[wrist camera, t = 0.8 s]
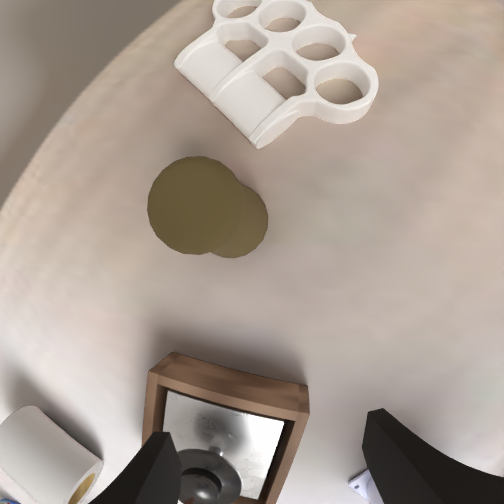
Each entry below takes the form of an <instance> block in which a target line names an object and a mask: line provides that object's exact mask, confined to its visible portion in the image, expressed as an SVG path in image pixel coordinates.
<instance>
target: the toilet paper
mask: <svg viewBox="0 0 504 504" xmlns="http://www.w3.org/2000/svg"><path fill="white" fill-rule="evenodd" d="M103 465H104V462H103V461H102V460H100V459H99V458H98V457H96V456H95V455H94V454H92V453H91V452H90V451H88V450H87V449H86V448H84V447H83V446H82V445H81V444H79V443H78V442H77V441H76V440H74V439H73V438H72V437H71V436H69V435H68V434H67V433H66V432H65V431H63V430H62V429H61V428H60V427H59V426H58V425H56V424H55V423H54V422H53V421H52V420H51V419H50V418H48V417H47V416H46V415H45V414H44V413H43V412H42V411H41V410H40V409H39V408H38V407H36V406H32V405H31V406H25V407H23V408H20V409H18V410H17V411H15V412H14V413H12V414H11V415H10V416H9V417H7V418H6V419H5V420H4V421H3V423H2V424H1V425H0V468H1V469H2V470H3V471H4V472H5V473H6V474H7V475H8V476H9V477H10V478H11V479H12V480H13V481H14V482H15V483H16V484H17V485H18V486H19V487H20V488H21V489H23V490H24V491H25V492H26V493H27V494H28V495H29V496H30V497H31V498H33V499H34V500H35V501H36V502H37V503H38V504H80V503H81V502H82V501H83V500H84V498H85V497H86V496H87V494H88V493H89V492H90V490H91V489H92V487H93V486H94V484H95V482H96V481H97V479H98V477H99V475H100V473H101V471H102V468H103Z"/></svg>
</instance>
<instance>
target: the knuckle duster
mask: <svg viewBox="0 0 504 504" xmlns="http://www.w3.org/2000/svg"><path fill="white" fill-rule="evenodd" d="M243 6H255V7H257V8H256V10H255V11H254V12H252V13H251V14H249V15H247V16H245V17H241V18H234V19H232V18H227V17H228V15H229V14H230V13H231V12H232V11H234V10H235V9H237V8H239V7H243ZM212 13H213V16H214V19H215V21H214V24H213V26H212V28H211V29H210V30H208V31H207V32H206V33H204V34H203V35H201V36H200V37H199V38H197V39H196V40H195V41H193V42H192V43H190V44H189V45H188V46H187V47H185V48H184V49H183V50H182V51H181V53H180V54H179V55H178V56H177V58H176V59H175V61H174V67H175V68H177V70H178V71H179V72H180V73H181V74H182V75H184V76H185V77H186V78H187V79H188V80H189V81H190V82H191V83H192V84H193V85H194V86H196V87H197V88H198V89H199V90H200V91H201V92H202V93H203V94H204V95H205V96H206V97H207V98H208V99H209V100H210V101H211V103H212V104H213V105H214V106H215V107H217V108H218V109H219V110H220V111H221V112H222V113H223V114H224V115H225V116H226V117H227V118H228V119H229V120H230V121H231V122H232V123H233V124H234V125H235V126H236V127H237V128H238V129H239V130H240V131H241V132H242V133H243V134H244V135H245V137H246V138H247V139H248V140H249V141H250V143H251V144H252V145H253V146H254V147H255V148H257V149H260V148H262V147H264V146H266V145H267V144H269V143H270V142H272V141H273V140H274V139H275V138H276V137H278V136H279V135H280V134H281V133H283V132H284V131H285V130H286V129H288V128H289V127H290V126H291V125H292V124H293V123H294V121H295V120H296V119H297V118H299V117H302V116H316V117H318V118H319V119H321V120H324V121H326V122H330V123H335V124H346V123H351V122H354V121H356V120H358V119H360V118H361V117H363V116H364V115H365V114H366V113H367V111H368V110H369V108H370V106H371V104H372V102H373V100H374V98H375V96H376V94H377V91H378V76H377V73H376V71H375V69H374V68H373V67H372V66H370V65H368V64H367V63H366V62H364V61H363V60H362V59H361V58H360V57H359V56H358V55H357V53H356V52H355V50H354V48H353V46H352V41H353V40H354V39H355V37H356V36H357V34H352V33H348V32H347V31H346V30H345V29H344V28H343V26H342V25H341V24H340V23H339V22H337V21H334V20H331V19H329V18H327V17H325V16H323V15H322V14H320V13H319V12H318V11H317V10H316V9H315V7H314V6H313V4H312V1H306V0H215V1H214V3H213V6H212ZM283 17H288V18H293V19H296V20H298V21H300V22H301V23H300V24H299V25H298V26H297V27H296V28H295V29H293V30H290V31H287V32H273V31H269V30H267V29H265V28H266V27H267V26H268V25H269V23H270V22H272V21H273V20H275V19H278V18H283ZM247 39H248V40H251V41H253V42H254V43H255V44H257V45H258V46H259V47H261V48H262V49H260V50H259V51H258V52H256V53H255V54H253V55H252V56H250V57H249V58H248V59H246V60H245V61H244V62H243V61H242V60H240V59H239V58H238V57H237V56H236V55H234V54H233V53H232V52H231V51H230V50H228V49H227V48H226V47H225V44H226V43H227V42H228V41H230V40H247ZM314 43H323V44H327V45H330V46H332V47H333V48H335V49H336V50H337V51H338V52H339V55H337V56H335V57H332V58H329V59H326V60H321V61H313V60H308V59H305V58H303V57H301V56H300V55H298V54H297V53H296V51H297V50H299V49H300V48H302V47H304V46H307V45H310V44H314ZM275 67H284V68H286V69H287V70H288V71H290V72H291V73H292V74H293V75H294V76H295V77H296V78H298V79H299V80H300V81H301V82H302V83H303V84H304V85H305V86H306V89H305V93H304V94H303V95H299V96H291V97H290V98H289V99H287V100H286V99H284V98H283V97H282V96H281V95H280V94H279V93H278V92H277V91H276V90H275V89H274V88H273V87H271V86H270V85H269V84H268V83H267V82H266V81H265V80H264V79H263V78H261V77H263V76H264V75H265V74H267V73H268V72H269V71H271V70H272V69H274V68H275ZM337 78H341V79H346V80H349V81H351V82H353V83H354V84H356V85H357V86H358V88H359V89H360V90H361V93H362V96H363V98H361V99H359V100H357V101H354V102H351V103H348V104H334V103H331V102H328V101H327V100H325V99H323V98H322V97H321V96H320V95H319V94H318V92H317V91H316V88H317V86H319V85H320V84H321V83H323V82H326V81H329V80H332V79H337Z"/></svg>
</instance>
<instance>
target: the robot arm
mask: <svg viewBox="0 0 504 504" xmlns="http://www.w3.org/2000/svg"><path fill="white" fill-rule="evenodd" d="M362 449H363V453H364V457H365V460H366V463H367V467H368V470H367V471H365V472H364V473H362V474H361V475H359V476H357V477H356V478H354V479H353V480H351V481H350V482H349V487H350V488H352V489H353V490H354V491H355V492H357V493H358V494H359V495H361V496H362V497H363V498H365V499H366V500H367V501H369V504H504V477H500V476H496V475H492V474H489V473H485V472H482V471H480V470H477V469H474V468H472V467H469V466H467V465H464V464H462V463H460V462H458V461H456V460H454V459H452V458H450V457H448V456H447V455H445V454H443V453H441V452H440V451H438V450H437V449H435V448H434V447H432V446H431V445H429V444H428V443H426V442H425V441H423V440H422V439H421V438H419V437H418V436H417V435H415V434H414V433H413V432H411V431H410V430H409V429H408V428H406V427H405V426H404V425H403V424H401V423H400V422H399V421H398V420H397V419H395V418H394V417H393V416H392V415H391V414H390V413H388V412H387V411H386V410H385V409H383V408H382V409H378V410H374V411H369V412H368V415H367V421H366V427H365V433H364V438H363V444H362ZM181 473H182V464H181V462H180V459H179V456H178V454H177V451H176V448H175V445H174V443H173V440H172V437H171V434H170V432H157V431H154V432H153V433H152V434H151V435H150V437H149V438H148V439H147V441H146V442H145V443H144V445H143V446H142V447H141V449H140V450H139V451H138V453H137V454H136V455H135V457H134V458H133V459H132V460H131V461H130V463H129V464H128V465H127V466H126V467H125V469H124V470H123V471H122V472H121V473H120V474H119V475H118V476H117V478H116V479H115V480H114V481H113V482H112V483H111V484H110V485H109V486H108V487H107V488H106V489H105V490H104V491H103V492H102V493H100V494H99V495H98V496H97V497H96V498H95V499H93V500H92V501H91V502H90V503H88V504H177V503H178V498H179V493H180V488H181ZM356 485H358V486H356Z"/></svg>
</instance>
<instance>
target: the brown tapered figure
mask: <svg viewBox="0 0 504 504" xmlns="http://www.w3.org/2000/svg"><path fill="white" fill-rule="evenodd" d="M147 211H148V216H149V221H150V225H151V226H152V228H153V230H154V232H155V233H156V235H157V237H158V238H159V239H161V240H162V241H163V242H164V243H165V244H166V245H167V246H168V247H170V248H171V249H174V250H176V251H178V252H181V253H183V254H196V255H200V254H205V253H208V252H211V253H214V254H216V255H218V256H221V257H227V258H236V257H240V256H243V255H246V254H248V253H249V252H251V251H252V250H254V249H255V248H256V247H257V246H258V245H259V244H260V242H261V241H262V240H263V238H264V235H265V233H266V230H267V225H268V214H267V210H266V207H265V204H264V203H263V201H262V199H261V198H260V196H259V195H258V194H257V193H255V192H254V191H253V190H252V189H250V188H248V187H246V186H243V185H241V184H240V183H239V181H238V180H237V178H236V177H235V175H234V174H233V172H232V171H231V170H230V169H229V168H227V167H226V166H225V165H223V164H222V163H221V162H219V161H216V160H213V159H210V158H207V157H186V158H183V159H180V160H178V161H175V162H173V163H172V164H170V165H169V166H168V167H166V168H165V169H164V170H162V172H161V173H160V174H159V176H158V177H157V178H156V180H155V181H154V182H153V185H152V188H151V190H150V193H149V195H148V207H147Z"/></svg>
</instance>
